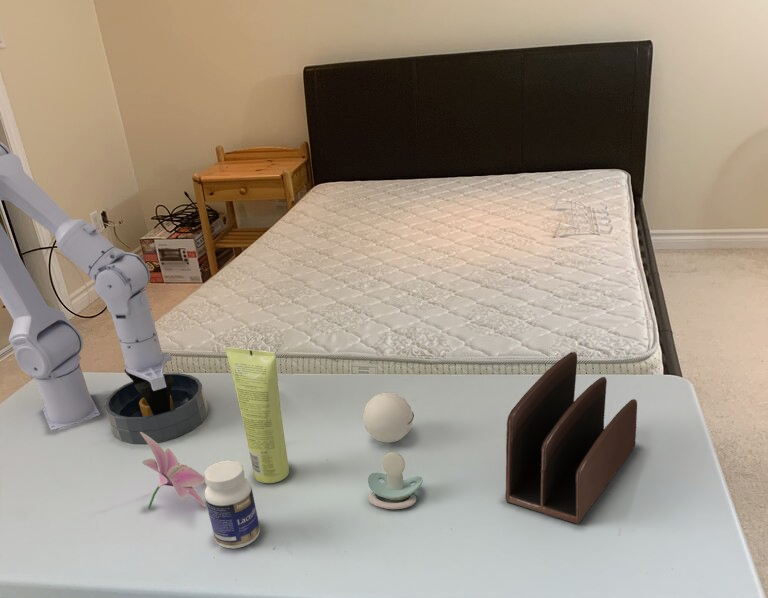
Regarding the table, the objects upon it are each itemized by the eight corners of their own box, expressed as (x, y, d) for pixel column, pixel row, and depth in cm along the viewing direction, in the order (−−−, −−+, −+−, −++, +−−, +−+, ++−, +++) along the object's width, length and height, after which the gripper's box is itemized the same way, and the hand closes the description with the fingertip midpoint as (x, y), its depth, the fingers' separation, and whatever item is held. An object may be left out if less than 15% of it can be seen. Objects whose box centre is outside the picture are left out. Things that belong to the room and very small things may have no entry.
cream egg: (409, 453, 109) (405, 409, 105) (359, 450, 111) (354, 406, 107) (423, 418, 117) (420, 376, 113) (377, 416, 119) (372, 374, 115)
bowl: (96, 426, 124) (88, 399, 122) (176, 390, 133) (170, 365, 131) (143, 457, 115) (134, 429, 112) (226, 416, 123) (220, 389, 121)
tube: (289, 460, 110) (267, 337, 100) (297, 478, 106) (275, 351, 96) (251, 470, 109) (224, 346, 99) (258, 489, 105) (231, 361, 95)
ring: (141, 417, 125) (135, 398, 123) (171, 408, 127) (166, 389, 125) (149, 430, 121) (143, 410, 119) (179, 420, 123) (174, 400, 121)
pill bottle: (251, 551, 93) (236, 485, 88) (208, 548, 94) (191, 483, 89) (267, 522, 98) (253, 458, 93) (225, 520, 99) (210, 456, 94)
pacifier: (415, 515, 97) (426, 487, 101) (410, 475, 93) (423, 448, 98) (360, 508, 99) (375, 481, 104) (355, 470, 96) (369, 443, 100)
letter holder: (504, 502, 97) (503, 406, 90) (568, 430, 110) (571, 342, 103) (578, 526, 92) (583, 426, 85) (636, 447, 105) (644, 355, 98)
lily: (181, 545, 97) (204, 478, 95) (97, 509, 97) (118, 443, 95) (214, 513, 109) (234, 453, 106) (138, 481, 109) (158, 421, 107)
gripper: (176, 343, 112) (196, 422, 119) (151, 314, 123) (170, 388, 130) (129, 357, 109) (151, 437, 116) (107, 326, 121) (129, 401, 127)
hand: (158, 412), depth 123 cm, fingers closed on ring, 5 cm apart
